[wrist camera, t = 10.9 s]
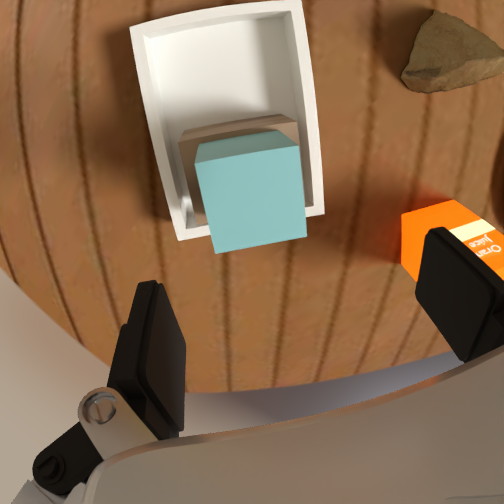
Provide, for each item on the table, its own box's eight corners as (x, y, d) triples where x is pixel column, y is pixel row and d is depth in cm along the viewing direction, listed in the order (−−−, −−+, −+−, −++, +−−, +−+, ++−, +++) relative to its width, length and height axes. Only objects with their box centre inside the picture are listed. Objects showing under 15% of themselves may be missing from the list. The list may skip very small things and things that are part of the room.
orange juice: (450, 247, 39) (538, 340, 22) (400, 264, 39) (485, 375, 22) (454, 198, 35) (562, 284, 18) (400, 212, 35) (510, 320, 18)
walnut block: (184, 130, 27) (177, 141, 22) (280, 113, 27) (297, 121, 22) (199, 198, 31) (197, 224, 26) (289, 182, 31) (305, 205, 26)
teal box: (198, 144, 22) (194, 163, 17) (278, 130, 23) (298, 145, 17) (214, 215, 26) (215, 253, 20) (287, 202, 26) (307, 236, 21)
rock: (423, 121, 27) (487, 97, 25) (442, 84, 19) (515, 61, 17) (371, 46, 29) (436, 27, 26) (372, -2, 20) (448, -17, 18)
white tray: (139, 33, 22) (129, 27, 19) (289, 9, 23) (300, 0, 19) (181, 222, 33) (178, 240, 29) (312, 198, 33) (324, 214, 30)
